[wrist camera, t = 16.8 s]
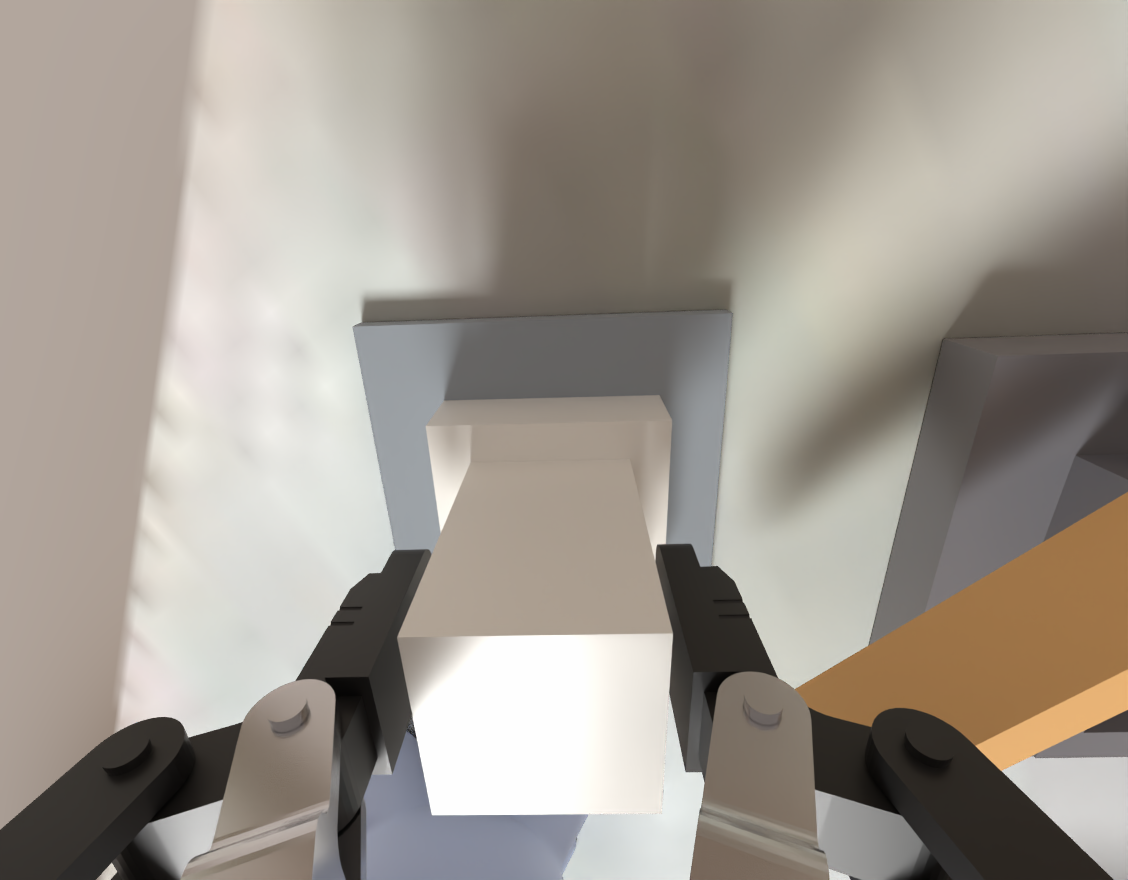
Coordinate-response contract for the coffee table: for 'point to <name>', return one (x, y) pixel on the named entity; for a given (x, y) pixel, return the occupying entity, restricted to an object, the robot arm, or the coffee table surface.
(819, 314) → the coffee table surface
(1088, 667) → the orange rod with knob
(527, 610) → the plug
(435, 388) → the mat
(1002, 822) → the robot arm
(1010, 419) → the socket block
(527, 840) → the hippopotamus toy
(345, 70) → the coffee table surface
